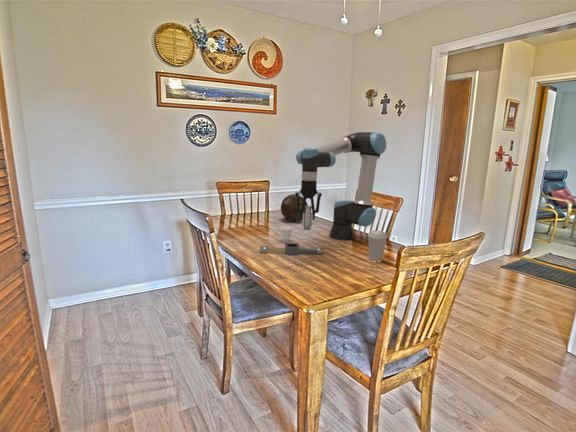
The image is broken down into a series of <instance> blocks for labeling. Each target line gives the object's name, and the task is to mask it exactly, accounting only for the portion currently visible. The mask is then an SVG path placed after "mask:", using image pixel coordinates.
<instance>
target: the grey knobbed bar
mask: <svg viewBox="0 0 576 432" xmlns="http://www.w3.org/2000/svg"><path fill="white" fill-rule="evenodd" d="M259 253H261V254H283V255H286V256H291V255H292V256H296V255H297V256H300V255H318V256H321V255H324V254H325V248H323V247H320V246H319V247H314V248H306V247H305V248H303V247H302V248H300V243H295V242H292V243H291V242H284V247H270V246H268V245H261V246H260V247H259Z"/></svg>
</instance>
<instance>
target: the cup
mask: <svg viewBox="0 0 576 432" xmlns="http://www.w3.org/2000/svg"><path fill="white" fill-rule="evenodd" d="M292 230H293V228H292V227H290V226H281V227H280V229H276V231H275V233H274V237H275V238H276V240H277V241H280V242H283V243H290V239H291V235H292ZM277 232H280V235H281V236H280V237H281V240H280V238H278V237H277Z"/></svg>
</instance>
